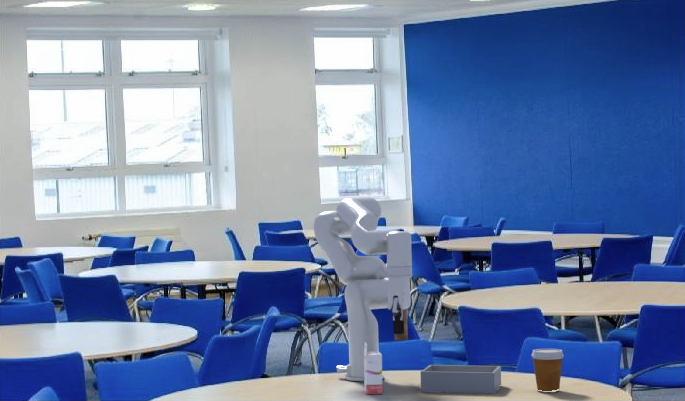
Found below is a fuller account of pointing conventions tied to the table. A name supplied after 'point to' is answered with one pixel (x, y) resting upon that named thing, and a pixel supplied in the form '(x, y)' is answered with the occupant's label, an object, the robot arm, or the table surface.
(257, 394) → the table surface
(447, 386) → the box
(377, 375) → the ink cartridge box
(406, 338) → the peg
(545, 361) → the disposable coffee cup
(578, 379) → the table surface
